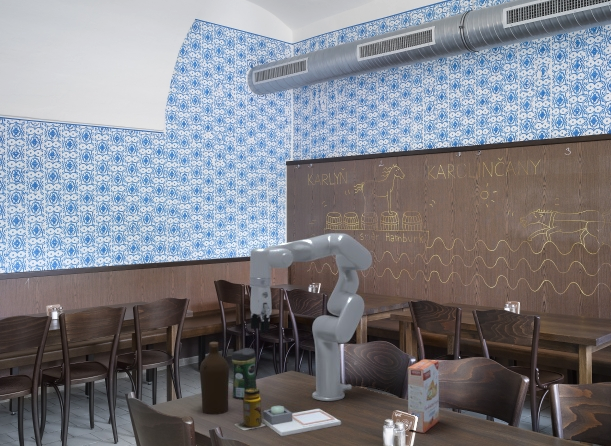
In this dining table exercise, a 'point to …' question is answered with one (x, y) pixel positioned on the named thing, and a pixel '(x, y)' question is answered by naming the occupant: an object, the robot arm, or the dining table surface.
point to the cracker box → (424, 393)
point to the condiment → (251, 410)
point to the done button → (277, 410)
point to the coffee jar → (243, 371)
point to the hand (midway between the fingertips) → (259, 330)
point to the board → (298, 421)
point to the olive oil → (214, 381)
